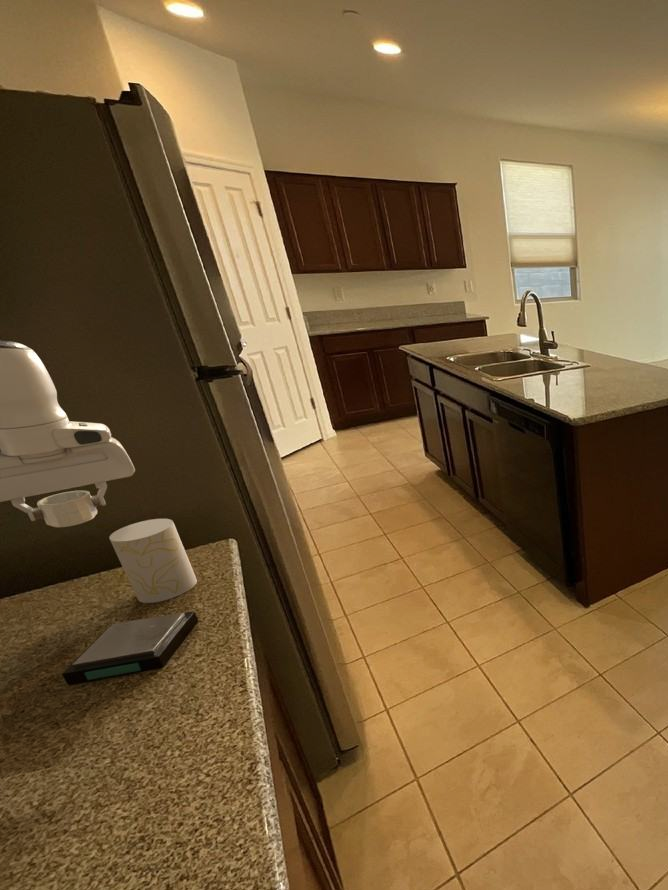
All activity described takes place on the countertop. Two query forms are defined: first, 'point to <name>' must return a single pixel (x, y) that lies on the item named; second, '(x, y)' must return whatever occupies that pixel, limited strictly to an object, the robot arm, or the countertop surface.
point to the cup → (154, 560)
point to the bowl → (67, 508)
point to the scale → (132, 647)
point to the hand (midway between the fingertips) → (70, 511)
